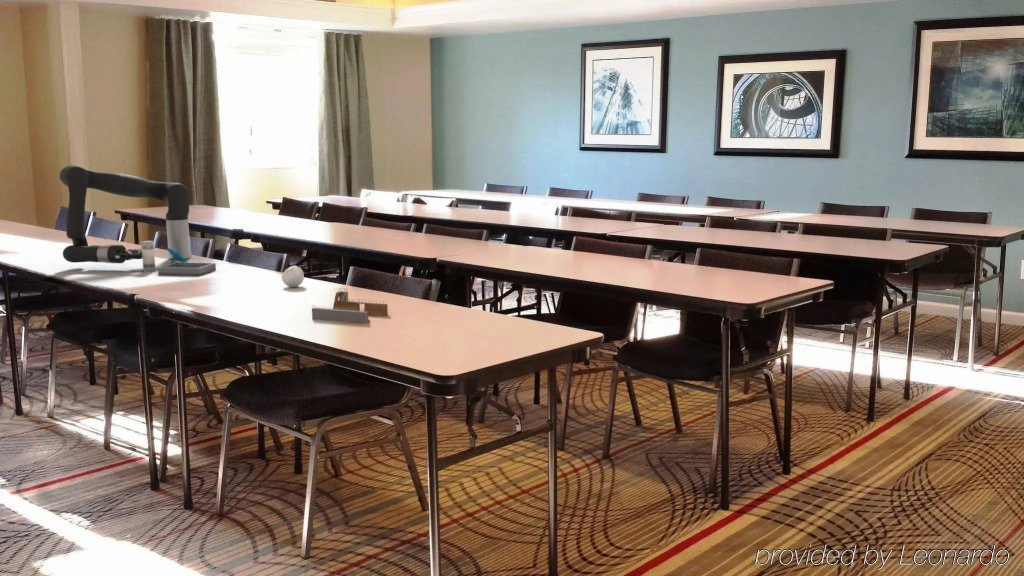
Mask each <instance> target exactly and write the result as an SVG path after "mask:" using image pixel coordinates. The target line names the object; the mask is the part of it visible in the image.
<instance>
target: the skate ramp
mask: <svg viewBox="0 0 1024 576" xmlns="http://www.w3.org/2000/svg"><path fill="white" fill-rule="evenodd" d="M333 301H334V302H333V306H332V307H331V306H328V308H326V306H324V305H322V307H321V306H317V307H315V305H312V307H311V318H312V320H317V321H330V322H341V323H352V324H354V323H355V324H365V325H366V324H368V323H371V320H370V318H369V316H370V317H371V316H372V317H385V316H388V315H389V314H388V311H389V310H388V303H386V301H382V302H377V300H376V299H375V300H374V299H373V301H372V300H368V299H365V301H364V299H360V298H358V299H355V301H354V300H350V298H349V291H348V288H346V287H345V288H341V287H340V288H338V291H337V292H336V293H335V296H334V300H333ZM361 305H364V309H362V308H360V306H361Z"/></svg>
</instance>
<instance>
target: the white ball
mask: <svg viewBox="0 0 1024 576" xmlns="http://www.w3.org/2000/svg"><path fill="white" fill-rule="evenodd" d="M304 275H305V273H304V271H303V270H302V268H301V267H300V266H297V265H292V266H290V267H288V268H286V269H285V270H284V271H283V273H282V275H281V281H282V282H283V284H284V285H286V286H287V287H289V288H297V287H300V286H301V284H302V283H303V281H304Z"/></svg>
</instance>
